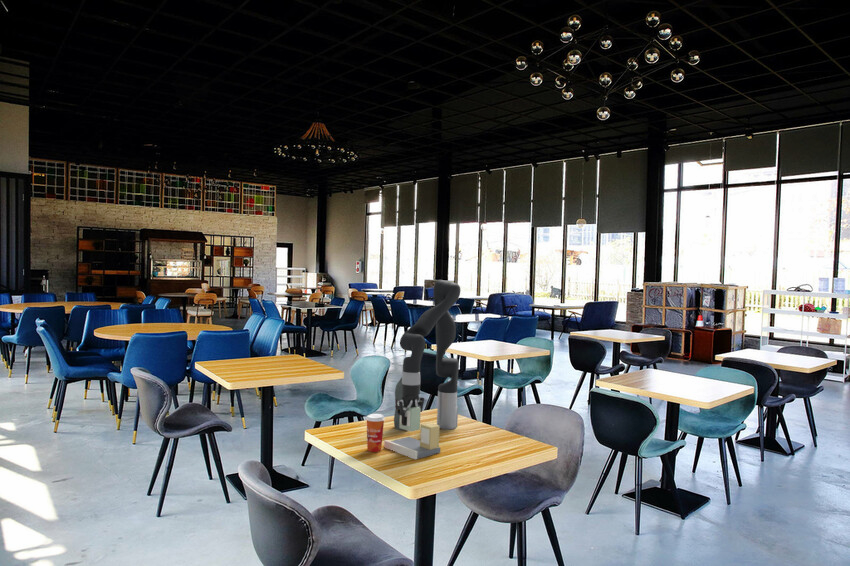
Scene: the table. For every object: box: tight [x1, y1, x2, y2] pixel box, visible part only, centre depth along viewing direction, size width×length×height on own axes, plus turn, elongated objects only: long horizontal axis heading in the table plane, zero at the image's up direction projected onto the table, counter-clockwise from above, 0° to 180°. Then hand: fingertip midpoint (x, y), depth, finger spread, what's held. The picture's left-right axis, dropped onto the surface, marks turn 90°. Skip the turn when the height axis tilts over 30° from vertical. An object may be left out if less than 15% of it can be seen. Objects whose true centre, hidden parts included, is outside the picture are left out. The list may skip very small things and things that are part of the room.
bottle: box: [393, 373, 404, 431], centre depth 254 cm, size 9×9×30 cm
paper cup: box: [365, 413, 386, 453], centre depth 220 cm, size 8×8×14 cm
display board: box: [383, 436, 441, 460], centre depth 222 cm, size 14×19×3 cm
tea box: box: [399, 407, 422, 433], centre depth 220 cm, size 5×7×9 cm
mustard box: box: [419, 422, 440, 450], centre depth 220 cm, size 5×6×9 cm
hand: (409, 424), depth 220 cm, fingers closed on tea box, 5 cm apart
